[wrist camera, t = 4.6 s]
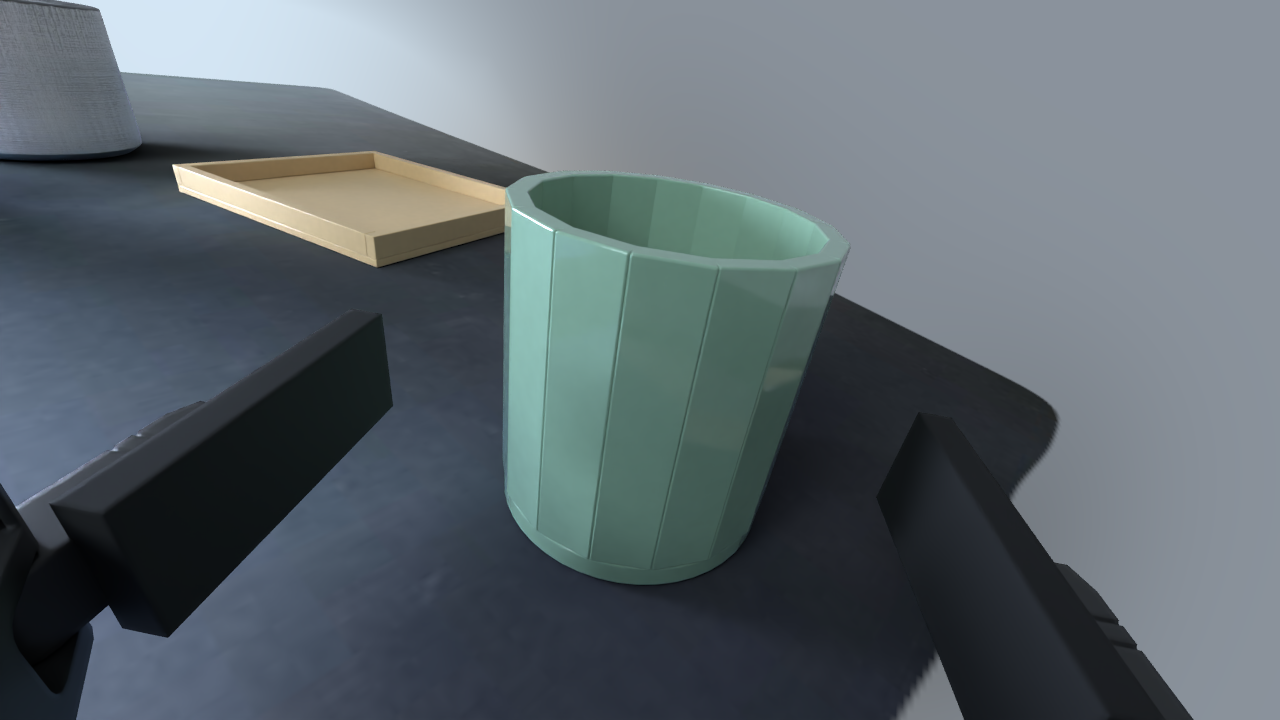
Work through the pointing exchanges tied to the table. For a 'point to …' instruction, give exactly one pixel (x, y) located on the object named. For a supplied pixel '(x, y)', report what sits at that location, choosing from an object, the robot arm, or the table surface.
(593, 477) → the cup
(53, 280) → the table surface
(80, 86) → the planter
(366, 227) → the tray
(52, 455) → the table surface
